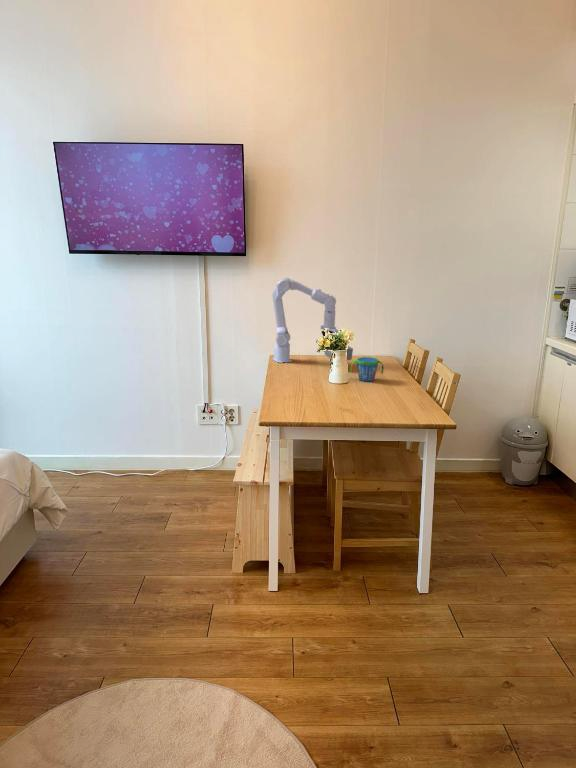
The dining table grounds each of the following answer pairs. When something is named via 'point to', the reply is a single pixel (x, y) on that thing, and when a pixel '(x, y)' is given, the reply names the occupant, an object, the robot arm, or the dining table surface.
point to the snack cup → (367, 368)
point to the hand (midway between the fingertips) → (328, 344)
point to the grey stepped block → (349, 353)
